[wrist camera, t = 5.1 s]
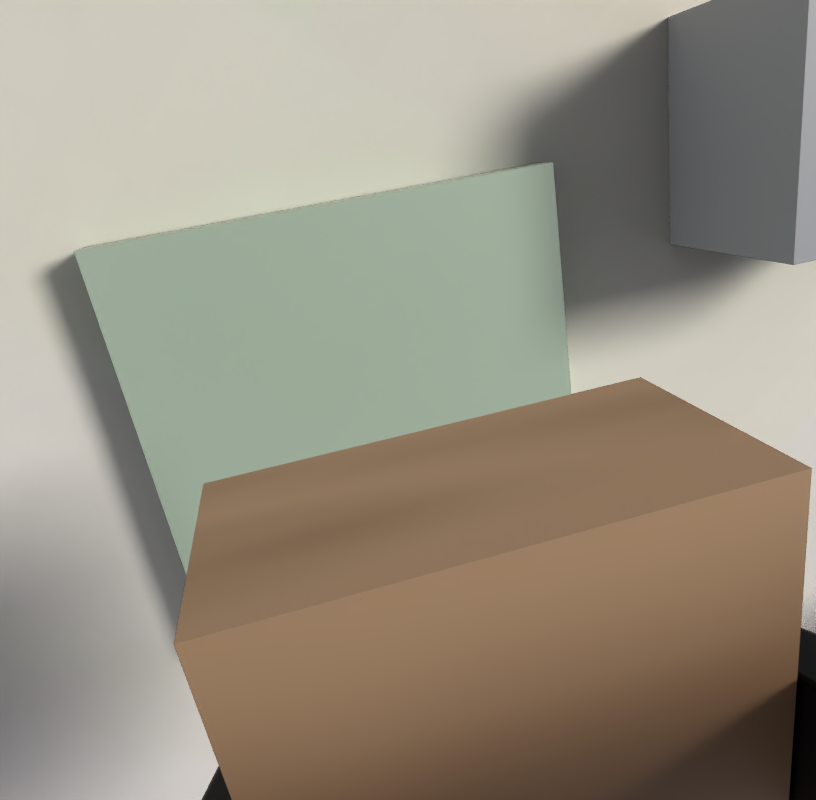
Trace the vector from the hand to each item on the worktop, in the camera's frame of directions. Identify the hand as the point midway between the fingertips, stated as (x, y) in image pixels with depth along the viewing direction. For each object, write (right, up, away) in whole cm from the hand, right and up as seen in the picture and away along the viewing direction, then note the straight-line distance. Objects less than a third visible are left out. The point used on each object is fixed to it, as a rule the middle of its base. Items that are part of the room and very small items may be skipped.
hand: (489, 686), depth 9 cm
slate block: (+9, +12, +10) cm, 18 cm away
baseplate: (-2, +4, +10) cm, 11 cm away
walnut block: (0, 0, +1) cm, 1 cm away
